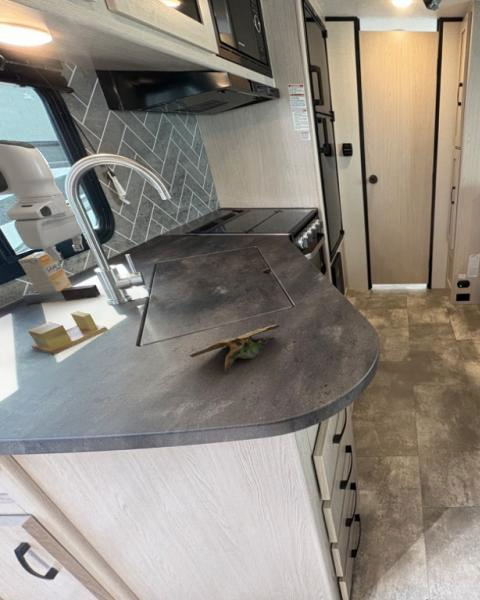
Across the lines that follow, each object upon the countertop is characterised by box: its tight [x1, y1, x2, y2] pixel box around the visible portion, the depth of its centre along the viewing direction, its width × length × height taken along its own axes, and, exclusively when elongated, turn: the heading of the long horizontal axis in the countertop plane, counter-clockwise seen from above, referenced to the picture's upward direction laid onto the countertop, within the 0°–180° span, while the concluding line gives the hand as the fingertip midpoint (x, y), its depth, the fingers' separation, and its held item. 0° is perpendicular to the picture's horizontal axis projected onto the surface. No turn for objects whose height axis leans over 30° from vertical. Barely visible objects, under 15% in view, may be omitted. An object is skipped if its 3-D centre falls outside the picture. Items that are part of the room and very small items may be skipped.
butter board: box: [27, 321, 108, 356], centre depth 75 cm, size 8×11×5 cm
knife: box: [21, 284, 101, 305], centre depth 95 cm, size 18×2×3 cm, turn 106°
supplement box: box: [17, 250, 73, 293], centre depth 97 cm, size 8×5×13 cm, turn 22°
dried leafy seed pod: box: [188, 324, 280, 375], centre depth 67 cm, size 18×14×8 cm
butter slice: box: [70, 310, 97, 331], centre depth 78 cm, size 5×2×4 cm, turn 70°
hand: (69, 255), depth 92 cm, fingers open, 8 cm apart
